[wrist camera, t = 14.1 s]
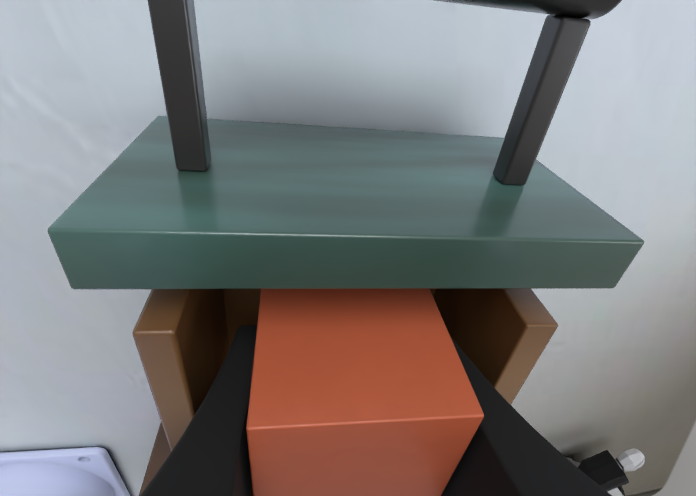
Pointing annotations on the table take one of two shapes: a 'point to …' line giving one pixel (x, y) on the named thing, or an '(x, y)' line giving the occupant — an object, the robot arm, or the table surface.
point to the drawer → (338, 219)
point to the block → (356, 395)
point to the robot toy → (611, 469)
